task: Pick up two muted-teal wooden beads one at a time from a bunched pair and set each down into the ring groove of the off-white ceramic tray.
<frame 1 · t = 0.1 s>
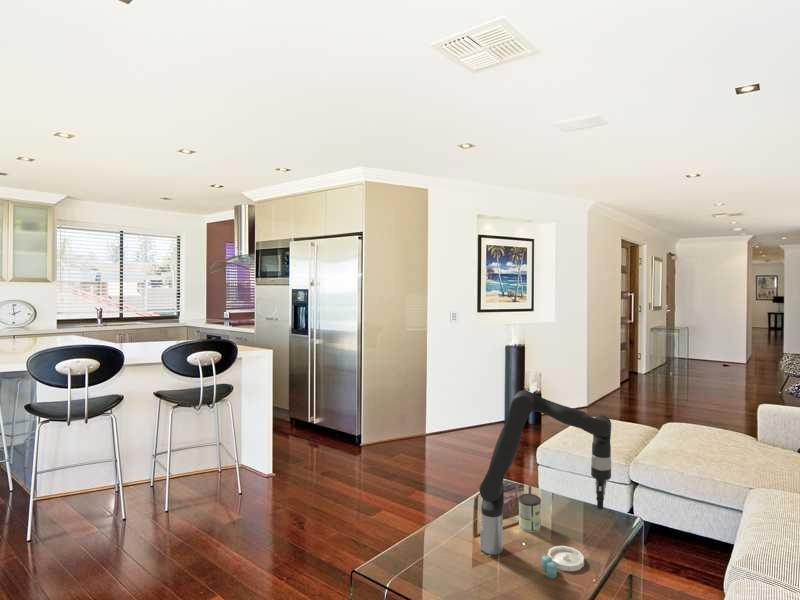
hand: (600, 504, 211), 29 cm above the table, fingers open, 8 cm apart
ring tray: (565, 560, 222), on the table
coffee can: (529, 527, 250), on the table
bead 2: (551, 575, 212), on the table
bead 1: (546, 568, 217), on the table
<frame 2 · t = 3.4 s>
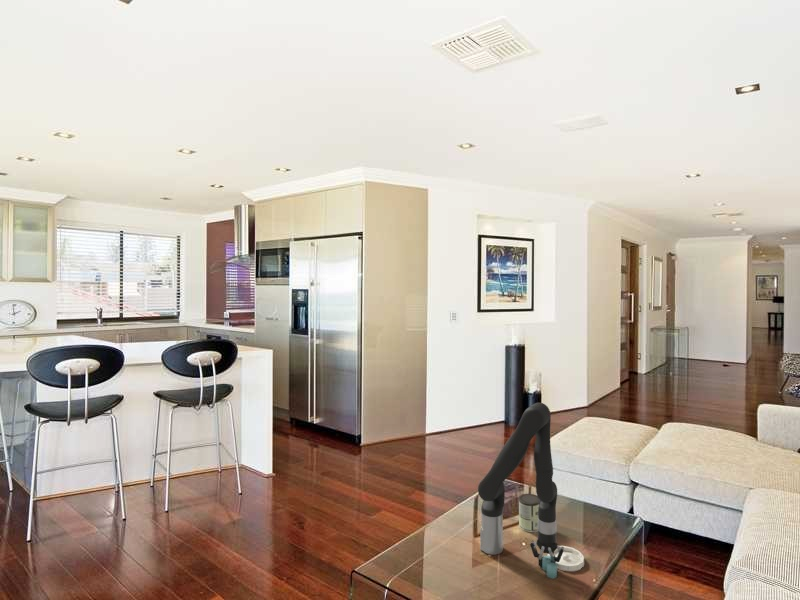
hand: (546, 568, 217), 0 cm above the table, fingers closed on bead 1, 4 cm apart
bead 1: (546, 568, 217), on the table, touching gripper
everything else where it was.
when the fingers open (3 cm above the table, at t = 7.2 s): bead 1 drops 2 cm, resting on ring tray.
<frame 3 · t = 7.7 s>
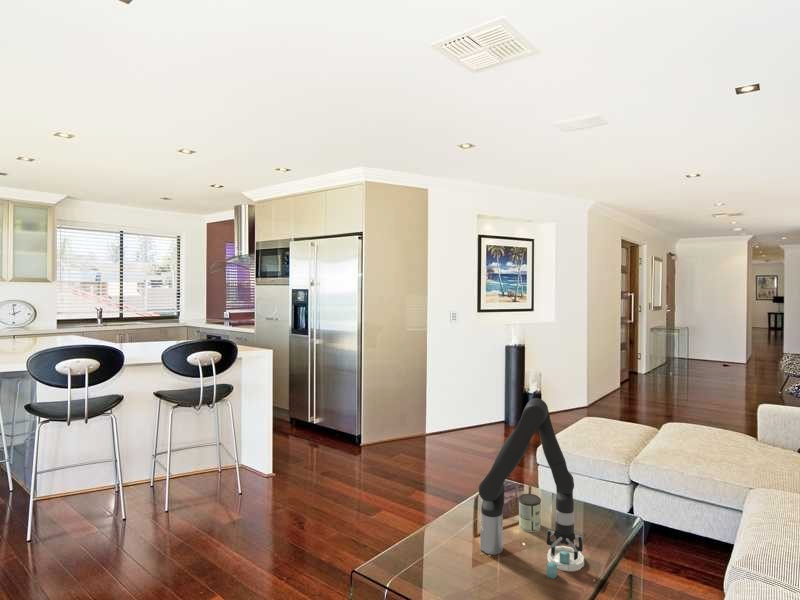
hand: (564, 556, 218), 4 cm above the table, fingers open, 8 cm apart
bead 1: (564, 563, 218), point 1 cm above the table, touching ring tray
everything else where it was.
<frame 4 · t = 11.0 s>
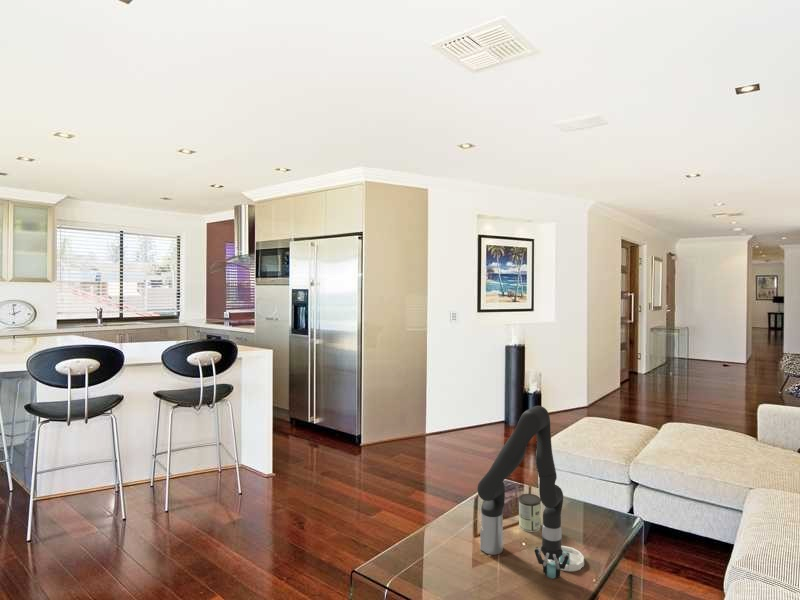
hand: (551, 574, 212), 0 cm above the table, fingers closed on bead 2, 4 cm apart
bead 2: (551, 575, 212), on the table, touching gripper
everything else where it was.
when the fingers open (3 cm above the table, at t = 15.4 s): bead 2 drops 2 cm, resting on ring tray.
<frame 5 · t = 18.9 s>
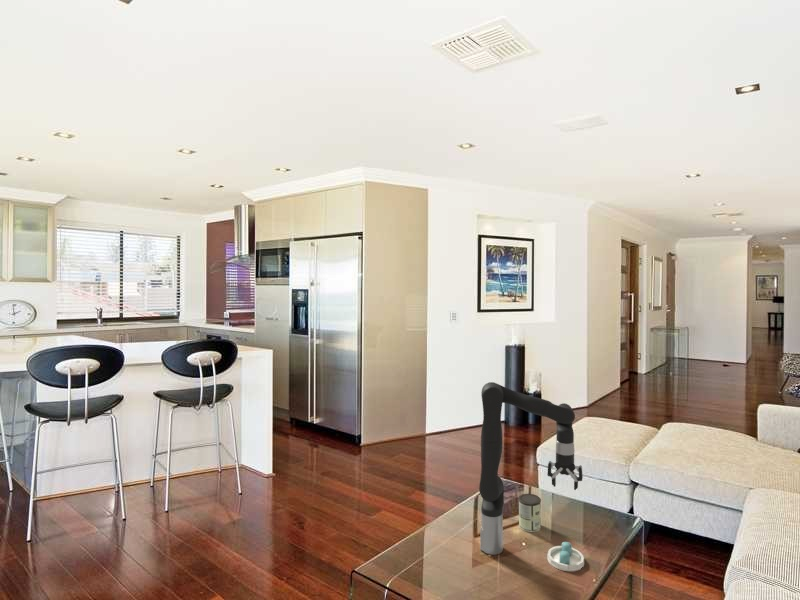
hand: (564, 487, 224), 30 cm above the table, fingers open, 8 cm apart
bead 2: (566, 554, 225), point 1 cm above the table, touching ring tray
everything else where it was.
at the end: bead 1 inside the target area on the ring tray (3.8 cm from its centre), point 0.8 cm above the ring tray's base; bead 2 inside the target area on the ring tray (3.6 cm from its centre), point 0.8 cm above the ring tray's base; bead 1 tilted 0° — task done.
